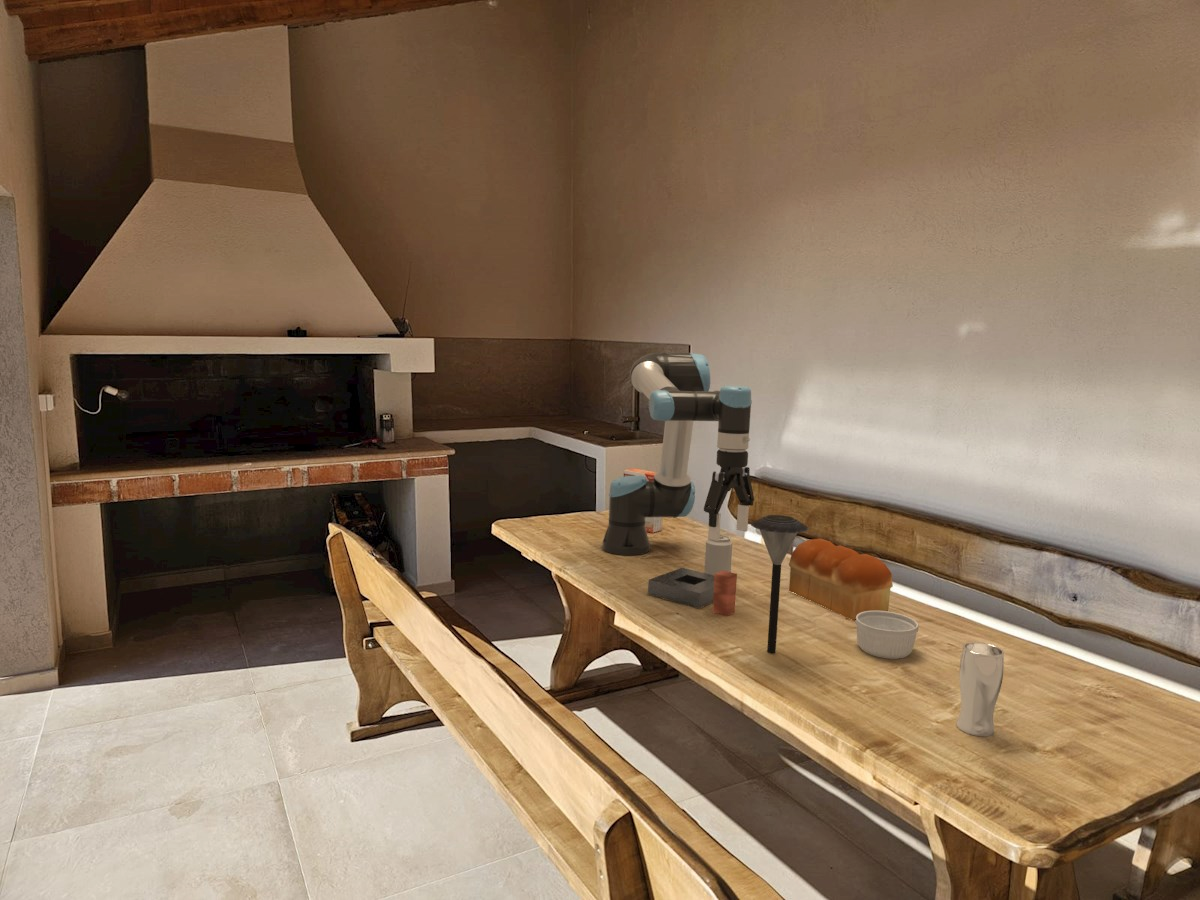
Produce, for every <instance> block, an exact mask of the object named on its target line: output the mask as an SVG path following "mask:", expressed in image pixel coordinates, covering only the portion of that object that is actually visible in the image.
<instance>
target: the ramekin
mask: <svg viewBox="0 0 1200 900" xmlns="http://www.w3.org/2000/svg"><path fill="white" fill-rule="evenodd" d="M854 621H855V626H856V641H857V645H858V646H859V648H860V649H861V651H863V652H865V653H866V654H868V655H871V656H872V657H873V656H874V657H878V658H883V659H889V660H890V659H891V660H892V659H893V660H895V659H897V660H898V659H899V658H900V659H903V658H907V657H908V656H909V655H911V653H912V651H913V650H914V647H915V642H916V636H917V633H918V632H919V624H918V621H916V620H915V619H913V618H912V617H909V616H907V615H904V614H901V613H898V612H893V611H889V610H888V611H865V612H861V613H859V614H857V616H856V620H854Z"/></svg>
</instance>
